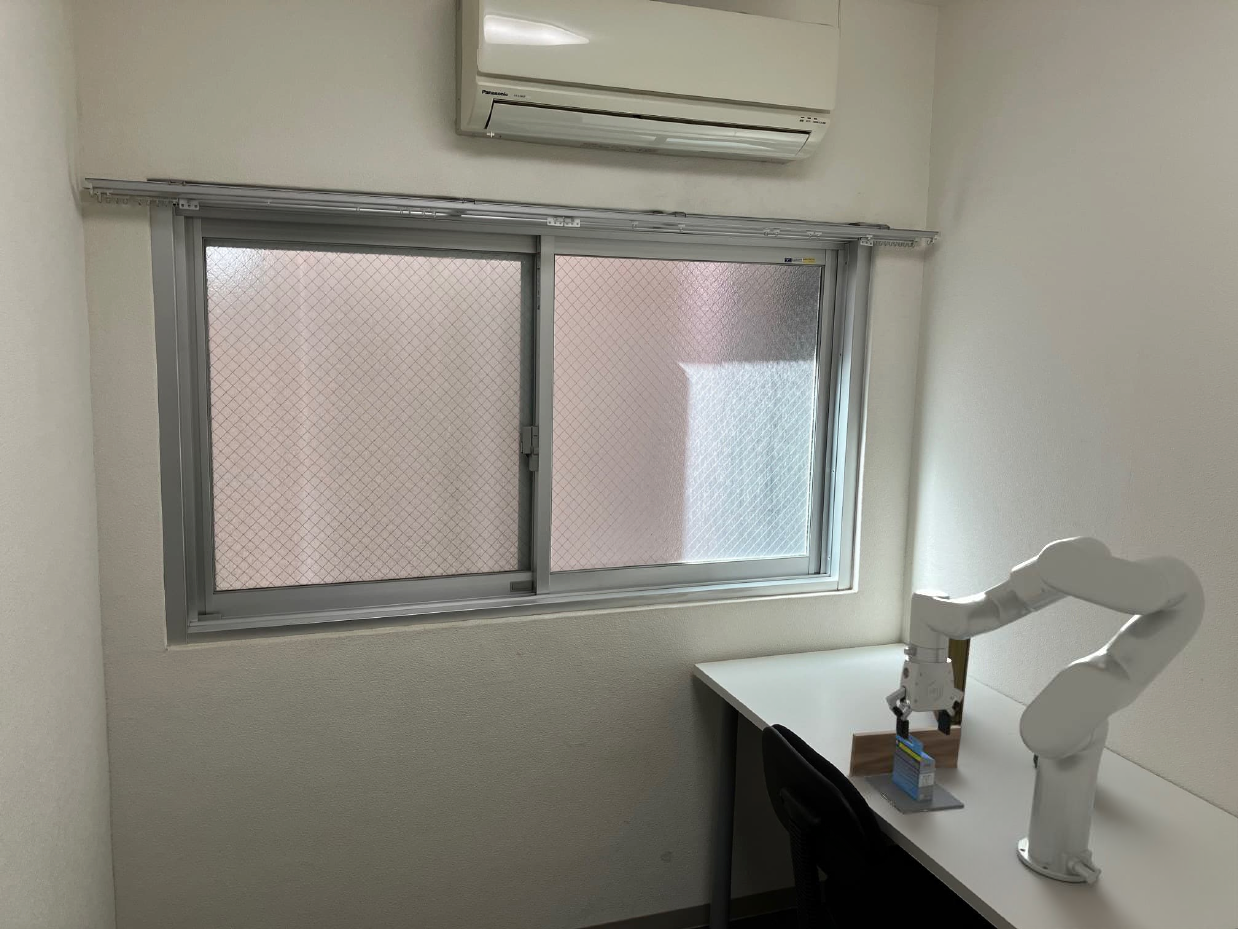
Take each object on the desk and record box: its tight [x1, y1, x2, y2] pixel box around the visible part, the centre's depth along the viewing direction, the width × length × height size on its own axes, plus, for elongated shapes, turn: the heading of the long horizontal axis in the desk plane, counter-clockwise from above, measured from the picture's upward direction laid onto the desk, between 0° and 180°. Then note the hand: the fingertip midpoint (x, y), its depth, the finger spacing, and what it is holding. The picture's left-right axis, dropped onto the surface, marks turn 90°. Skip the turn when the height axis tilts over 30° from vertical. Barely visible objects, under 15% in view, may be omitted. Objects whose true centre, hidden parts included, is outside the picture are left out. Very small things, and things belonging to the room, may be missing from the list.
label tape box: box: [892, 733, 936, 801], centre depth 178 cm, size 9×4×12 cm, turn 17°
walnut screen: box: [848, 724, 962, 777], centre depth 188 cm, size 1×26×9 cm, turn 106°
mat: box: [863, 773, 965, 814], centre depth 179 cm, size 14×14×1 cm
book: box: [932, 638, 972, 726], centre depth 220 cm, size 16×6×25 cm, turn 168°
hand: (923, 734), depth 177 cm, fingers open, 9 cm apart
